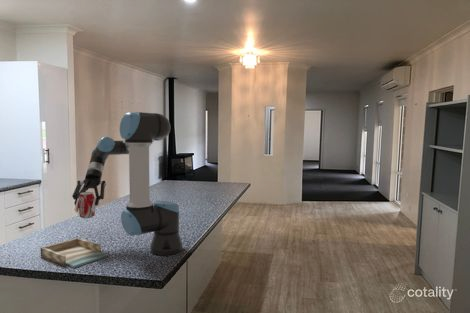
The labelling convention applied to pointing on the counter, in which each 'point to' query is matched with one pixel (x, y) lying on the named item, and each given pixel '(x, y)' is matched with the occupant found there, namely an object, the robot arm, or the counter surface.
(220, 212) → the counter surface
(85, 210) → the soda can
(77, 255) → the truck bed
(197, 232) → the counter surface
